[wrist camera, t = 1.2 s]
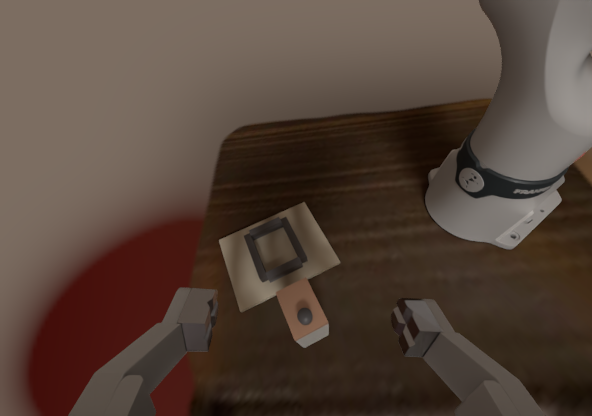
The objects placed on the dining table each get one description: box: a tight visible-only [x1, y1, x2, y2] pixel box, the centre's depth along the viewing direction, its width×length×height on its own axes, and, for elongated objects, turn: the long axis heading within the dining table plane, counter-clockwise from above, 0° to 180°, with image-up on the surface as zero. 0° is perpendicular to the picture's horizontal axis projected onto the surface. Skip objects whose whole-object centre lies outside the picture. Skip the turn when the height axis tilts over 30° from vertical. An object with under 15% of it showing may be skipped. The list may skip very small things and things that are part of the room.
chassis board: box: [219, 202, 340, 312], centre depth 43 cm, size 18×14×3 cm
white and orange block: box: [276, 277, 329, 348], centre depth 32 cm, size 4×6×13 cm
